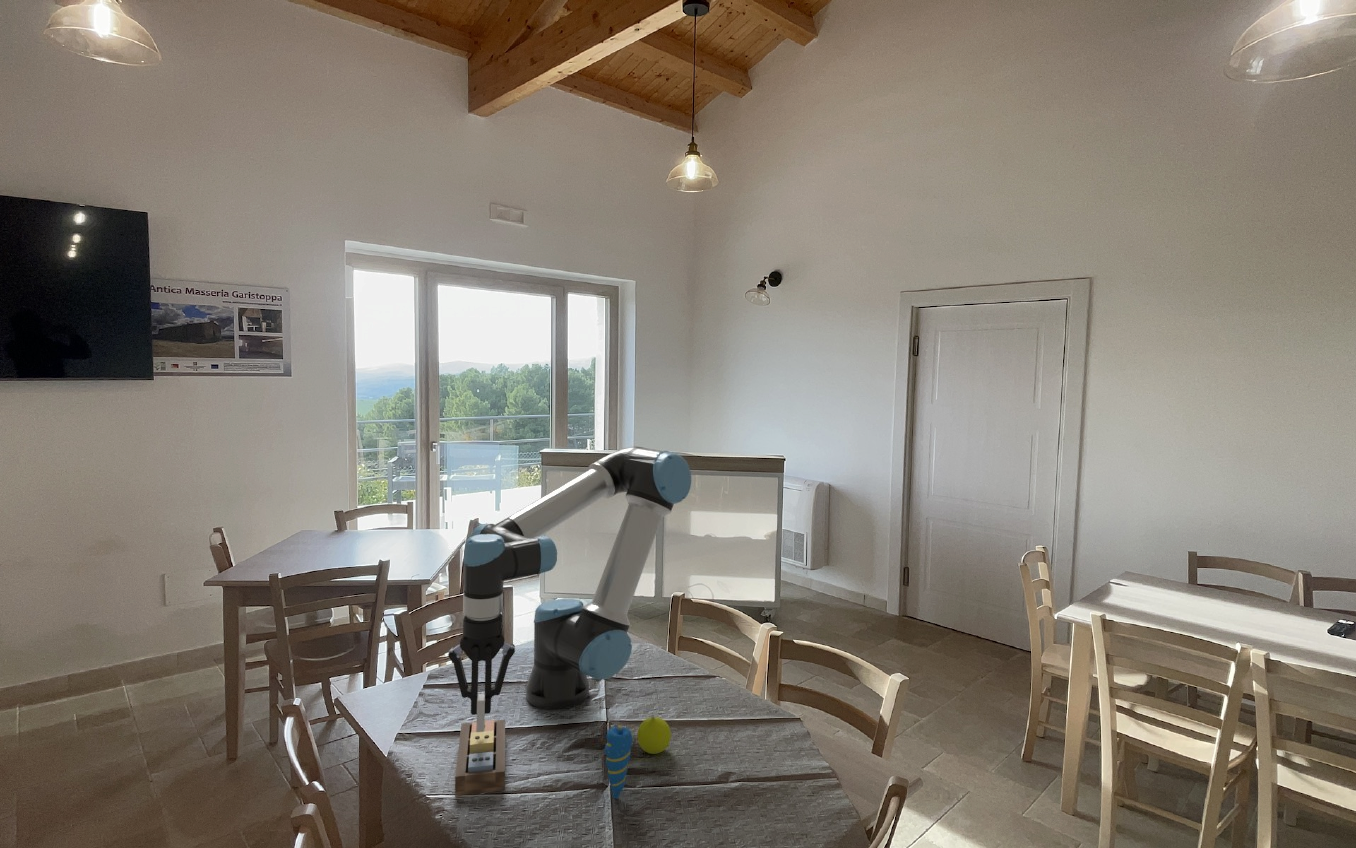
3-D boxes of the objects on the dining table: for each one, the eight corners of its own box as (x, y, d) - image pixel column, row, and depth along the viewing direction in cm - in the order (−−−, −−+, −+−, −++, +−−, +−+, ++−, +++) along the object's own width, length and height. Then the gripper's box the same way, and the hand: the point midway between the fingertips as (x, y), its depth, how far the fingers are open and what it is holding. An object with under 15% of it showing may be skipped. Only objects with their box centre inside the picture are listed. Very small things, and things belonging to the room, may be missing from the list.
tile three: (493, 766, 135) (493, 751, 135) (492, 780, 131) (492, 764, 130) (469, 768, 134) (469, 753, 134) (468, 782, 130) (468, 766, 129)
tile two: (493, 744, 141) (493, 729, 141) (493, 756, 136) (493, 741, 136) (470, 746, 140) (470, 732, 139) (469, 759, 135) (469, 744, 135)
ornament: (603, 790, 131) (605, 715, 130) (630, 789, 132) (632, 715, 130) (603, 807, 126) (605, 730, 125) (631, 807, 127) (633, 729, 125)
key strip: (504, 736, 149) (505, 719, 148) (504, 790, 130) (505, 771, 130) (461, 740, 146) (461, 723, 146) (455, 796, 128) (455, 776, 128)
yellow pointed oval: (644, 764, 140) (645, 717, 139) (631, 746, 147) (633, 701, 146) (675, 756, 143) (677, 711, 142) (662, 739, 150) (663, 695, 149)
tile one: (494, 733, 147) (494, 719, 146) (493, 745, 142) (493, 730, 142) (472, 735, 146) (472, 721, 145) (471, 747, 141) (471, 732, 141)
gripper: (516, 606, 141) (513, 716, 143) (449, 608, 137) (447, 721, 139) (517, 619, 133) (514, 735, 135) (446, 622, 130) (444, 741, 132)
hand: (480, 728), depth 137 cm, fingers closed
